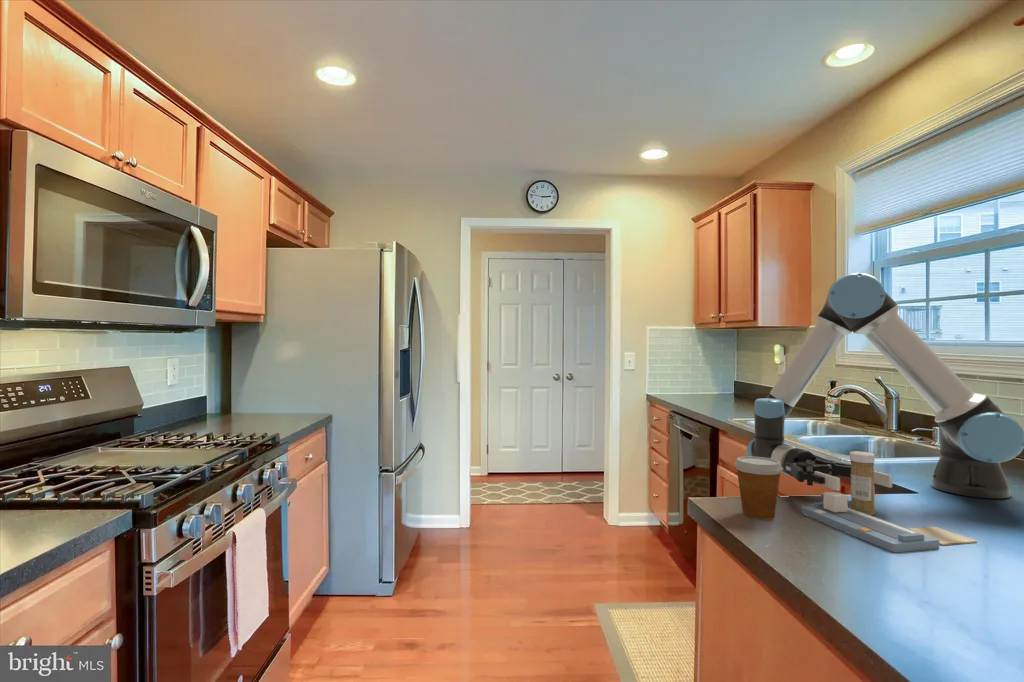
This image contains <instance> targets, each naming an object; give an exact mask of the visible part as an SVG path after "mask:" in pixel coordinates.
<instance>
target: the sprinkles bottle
mask: <svg viewBox="0 0 1024 682" xmlns="http://www.w3.org/2000/svg"><path fill="white" fill-rule="evenodd" d="M849 461H850V464H851V477H850V497H851V498H850V499H851V505H850V506H851V507H850V508H851V509H854V510H857V511H860V512H862V513H865V514H868V515H871V516H873V515H875V514H876V510H875V499H876V498H875V497H876V496H875V493H876V492H875V483H874V471H875V470H874V465H875V462H876V459H875V454H874V453H872V452H867V451H859V450H858V451H857V450H856V451H855V450H854V451H850V452H849Z"/></svg>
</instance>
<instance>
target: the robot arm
mask: <svg viewBox="0 0 1024 682" xmlns="http://www.w3.org/2000/svg"><path fill="white" fill-rule="evenodd" d="M827 293H828V294H827V297H826V300H825V303H824V304H823V307H822V308H821V310H820V311H819V313H818V314H817V316H816V318H817V323H816V324H815V326H814V327H813V329H812V330H811V332H810V333H809V335H807V338H806V339H805V340H804V342H803V343H802V345H801V346H800V347H799V349H798V351H797V352H796V353H795V356H794V357H793V358H792V360H791V361H790V362H789V364H788V366H787V367H786V368H785V370H784V372H783V373H782V374H781V376H780V377H779V379H778V380H777V381H776V383H775V384H774V386H773V387H772V388H771V390H770V392H769V394H768V395H766V397H765V398H764V397H763V398H757V399H755V401H754V407H753V413H754V419H753V420H754V438H753V439H751V441H750V442H749V443H748V445H747V447H746V455H747V456H752V457H764V458H770V459H774V460H777V461H779V462H780V464H781V467H782V468H783V470H782V471H781V473H782V474H784V476H785V477H789V476H790V477H792V478H794V479H795V480H796V481H798V482H799V483H804V482H805V481H806V485H807V486H810V487H811V486H813V485H814V484H816V485H819V486H822V487H825V488H828V489H831V490H834V491H836V492H838V491H839V492H840V491H841V477H847V478H851V463H845V462H840V461H835V460H827V461H825V460H823V459H818V458H817V457H816V456H815V455H814V454H813V453H812V452H811V451H809V450H807V449H802V448H798V447H795V446H791V445H786V444H785V421H786V419H787V417H788V416H789V415H790V413H791V412H792V410H793V409H794V407H795V406H796V404H797V403H798V402H799V400H800V399H801V398H802V396H803V394H804V393H805V392H806V391H807V389H808V388H809V386H810V385H811V383H812V382H813V380H815V377H817V375H818V373H819V372H820V371H821V369H822V367H823V366H824V365H825V363H826V362H827V361H828V360H829V358H830V357H831V355H832V354H833V352H834V351H835V349H836V347H838V345H839V344H840V342H841V341H842V339H843V338H844V337H845V336H846V335H850V334H852V333H854V334H857V335H863V336H865V337H866V339H868V340H869V341H870V342H871V343H872V344H873V346H874V347H875V348H876V349H877V350H878V351H879V353H881V354H882V355H883V356H884V358H886V360H887V361H888V362H889V363H890V364H891V365H892V366H893V367H894V368H895V369H896V371H898V372H899V373H900V375H901V376H902V377H903V378H904V379H905V380H906V381H907V382H908V384H909V385H911V387H912V388H914V390H915V391H916V392H917V393H918V394H919V395H920V396H921V397H922V399H923V400H924V401H925V402H926V403H927V404H928V405H929V406H930V407H931V408H932V409H933V411H934V412H935V416H934V422H935V423H936V424H937V425H938V427H939V428H938V429H939V432H938V433H939V434H938V435H939V459H938V461H937V463H936V465H935V468H934V472H933V474H932V475H931V487H933V488H934V489H937V490H939V491H943V492H945V493H949V492H950V493H951V494H954V493H955V495H960V496H965V497H972V498H973V497H974V498H979V499H980V498H982V499H1008V498H1010V497H1011V488H1010V485H1009V483H1008V480H1007V478H1006V476H1005V473H1004V471H1003V468H1002V466H1001V463H1004V462H1009V461H1011V460H1013V459H1014V458H1017V457H1018V456H1019V455H1020V454H1021V453H1022V452H1023V450H1024V429H1023V427H1022V425H1021V424H1020V423H1019V422H1018V421H1017V420H1016V419H1014V418H1013V417H1011V416H1009V415H1007V414H1005V413H1004V412H1003V411H1002V410H1001V409H1000V407H999V405H998V404H997V403H995V402H993V401H992V400H991V399H990V398H989V396H987V395H986V394H984V393H977V392H973V391H972V390H971V389H970V388H969V386H968V385H966V384H965V383H964V381H963V380H961V379H960V377H959V376H958V375H957V374H956V373H955V372H954V371H953V370H952V369H951V368H950V367H949V366H948V365H947V364H946V363H945V362H944V361H943V360H942V358H940V357H939V355H938V354H936V352H934V351H933V349H931V348H930V346H929V345H928V343H926V342H925V341H924V340H923V339H922V338H921V337H920V336H919V335H918V334H917V333H916V332H915V331H914V329H912V327H910V326H909V325H908V324H907V323H906V321H905V320H904V319H903V318H901V317H900V315H899V313H898V311H899V304H898V303H897V302H895V300H894V299H893V298H892V296H890V295H889V293H887V292H886V289H885V287H884V285H883V284H882V282H881V281H880V280H879V279H877V278H876V277H875V276H873V275H871V274H868V273H864V272H863V273H862V272H855V273H854V272H853V273H848V274H846V275H842V277H840V278H838V279H837V280H836V281H834V282H833V283H832V284H831V286H830V287H829V289H828V292H827ZM830 472H831V473H830ZM781 473H780V474H781ZM837 476H839V477H837ZM874 485H879V486H882V487H886V488H888V489H890V488H893V475H891V474H888V473H884V472H881V471H880V472H879V471H877V470H874Z"/></svg>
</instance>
